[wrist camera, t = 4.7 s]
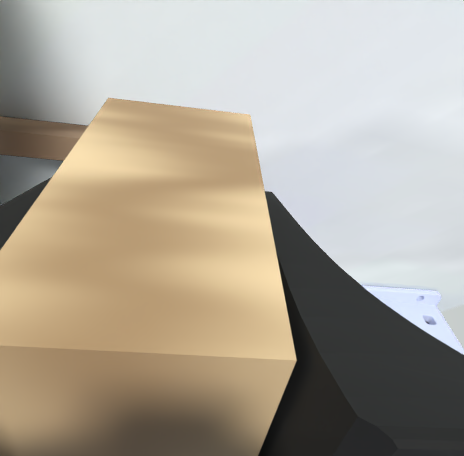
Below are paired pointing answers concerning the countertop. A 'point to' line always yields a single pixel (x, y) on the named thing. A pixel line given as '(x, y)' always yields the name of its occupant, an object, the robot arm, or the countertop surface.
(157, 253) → the oak peg
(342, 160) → the countertop surface
